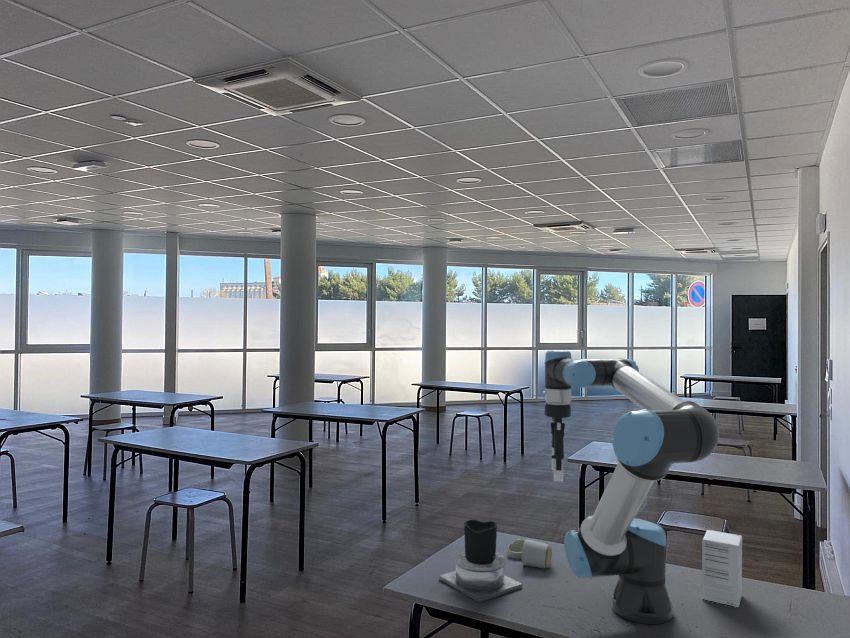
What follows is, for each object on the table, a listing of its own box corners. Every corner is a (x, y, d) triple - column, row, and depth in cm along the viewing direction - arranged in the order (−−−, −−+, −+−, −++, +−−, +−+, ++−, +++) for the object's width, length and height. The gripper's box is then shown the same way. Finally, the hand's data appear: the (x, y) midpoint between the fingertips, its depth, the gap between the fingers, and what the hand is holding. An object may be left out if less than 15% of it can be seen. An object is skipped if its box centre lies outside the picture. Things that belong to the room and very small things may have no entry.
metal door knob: (522, 588, 177) (522, 562, 177) (479, 602, 168) (479, 575, 168) (480, 567, 192) (480, 543, 192) (439, 579, 182) (439, 555, 182)
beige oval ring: (530, 551, 206) (530, 536, 206) (538, 558, 200) (538, 542, 200) (504, 553, 204) (504, 538, 204) (511, 560, 198) (511, 545, 198)
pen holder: (478, 567, 173) (478, 531, 173) (457, 557, 181) (457, 522, 181) (503, 560, 179) (503, 525, 179) (482, 550, 186) (482, 517, 186)
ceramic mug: (547, 572, 188) (547, 547, 188) (520, 568, 191) (521, 543, 191) (554, 561, 198) (554, 536, 198) (529, 557, 201) (529, 533, 201)
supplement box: (706, 587, 178) (706, 528, 178) (742, 595, 173) (742, 534, 173) (701, 600, 170) (701, 538, 170) (738, 608, 165) (739, 545, 165)
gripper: (543, 397, 195) (543, 465, 195) (546, 408, 171) (545, 485, 171) (568, 398, 194) (567, 466, 194) (574, 409, 170) (573, 487, 170)
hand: (557, 475), depth 182 cm, fingers open, 13 cm apart
